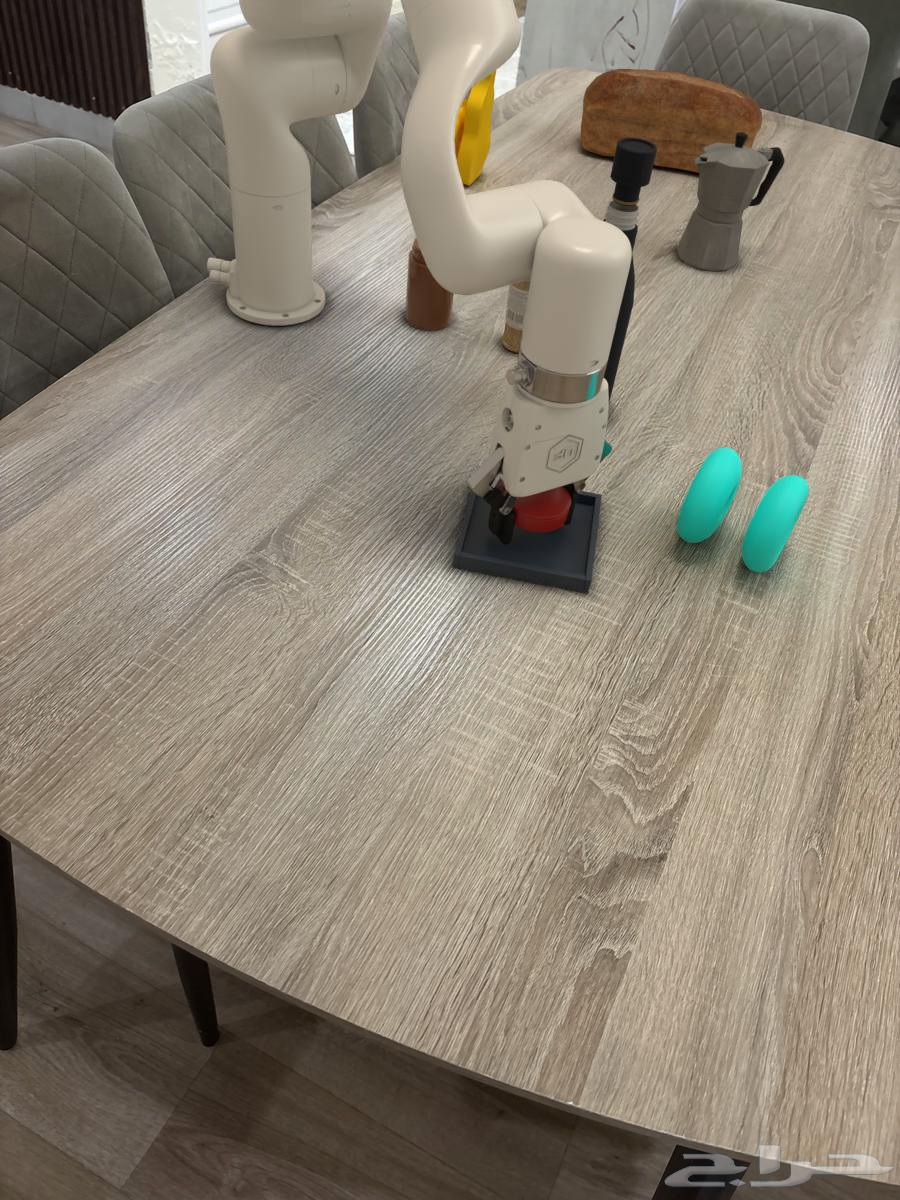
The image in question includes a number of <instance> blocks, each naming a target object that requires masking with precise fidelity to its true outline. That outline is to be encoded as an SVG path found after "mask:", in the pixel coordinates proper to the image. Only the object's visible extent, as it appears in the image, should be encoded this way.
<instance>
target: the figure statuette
mask: <svg viewBox="0 0 900 1200" xmlns="http://www.w3.org/2000/svg"><path fill="white" fill-rule="evenodd" d="M496 75H497V70H496V71H494V72H493V73H491V74H490V75H489V76H487V77H486V78H484V79H483V80H481V81H480V82H479V83H477V84H476V85H474V86H473V87H472V88H471V89H470V91H469V95H468V99H467V97H465V98H464V100H463V102H462V105H461V107H460V110H459V113H458V117H457V121H456V126H455V138H454V139H455V154H456V159H457V165H458V169H459V173H460V176H461V180H462V183H463V185H466V186H471V185H472V184H473V183H474V182H475V181H476V180H477V179H478V178H479V176H480V175H481V174H482V172H483V169H484V165H485V162H486V160H487V158H488V156H489V152H490V149H491V133H492V132H491V131H492V112H493V108H494V103H495V83H496V82H495V81H496Z"/></svg>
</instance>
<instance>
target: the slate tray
mask: <svg viewBox="0 0 900 1200" xmlns="http://www.w3.org/2000/svg"><path fill="white" fill-rule="evenodd" d="M495 478H496V477H495ZM495 478H494V479H493V480H492V482H491V483H490V484H489V485H490V486H491V485H492V483H493V482H494V480H495ZM501 494H503V495H504V494H505V488H504V489H503V491H502V493H501ZM602 497H603V495H602V494H601V493H595V492H590V491H585V490H582V491H581V492H578V493H577V499H576V503H575V507H574V512H573V516H572V520H571V523H570V524H568V525H562V526H561V527H560V528H558V529H556V530H554V531H550V532H532V531H528V530H525V529H522V528H520V527H518V526H516V525H514V529H513V534H512V540H511V542H510V544H507V545H504V544H503V543H502V542H501V541H500V540H499V538H498V537H497V536H496V535H494V534H493V533H492V532H491V531H490V529H489V526H488V521H489V515H490V509H491V505H489V504H488V503H487V502H486V501H485V500H484V499H482V498H481V497H479V496H478V495H477V494H475V493H474V492H473V491H472V490H471V491H470V495H469V498H468V502H467V505H466V510H465V514H464V517H463V520H462V524H461V528H460V531H459V534H458V538H457V542H456V545H455V549H454V553H453V558H452V560H453V561H452V568H455V569H461V570H466V571H472V572H477V573H481V574H487V575H492V576H495V577H496V576H497V577H502V578H508V579H511V580H518V581H522V582H528V583H533V584H539V585H543V586H548V587H554V588H558V589H563V590H568V591H575V592H580V593H585V594H588V593H589V592H590V587H591V584H592V581H593V580H592V579H593V571H594V565H595V564H594V562H595V555H596V548H597V547H596V546H597V539H598V538H597V537H598V531H599V530H598V529H599V521H600V513H601V505H602Z"/></svg>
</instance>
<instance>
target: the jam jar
mask: <svg viewBox="0 0 900 1200" xmlns="http://www.w3.org/2000/svg"><path fill="white" fill-rule="evenodd" d="M407 260H408V261H407V276H406V296H405V313H404V315H405V316H404V319H405V321H406V322H407V323H408V324H409V325H410V326H411V327H414V328H416V329H419V330H424V331H439V330H443V329H445V328H446V327H448V326H449V325H450V324H451V322H452V315H453V303H454V295H455V294H454V293H451V292H449V291H448V290H446V289H444V288H443V287H442V286H441V285H440V284H439V283H438V282H437V281H436V280H435V278H434V277H433V275H432V274H431V272H430V270H429V269H428V267H427V265H426V262H425V260H424V257H423V255H422V252H421V250H420V247H419V244H418V241H417V238H416V237H415V238H414V240H413V244H412V247H411V249H410V251H409V252H408V258H407Z"/></svg>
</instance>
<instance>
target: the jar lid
mask: <svg viewBox="0 0 900 1200" xmlns="http://www.w3.org/2000/svg"><path fill="white" fill-rule="evenodd" d="M507 492H508V491H507V490H506V489H505V494H504V496H506V494H507ZM570 505H571V497H570V494H569V493H568V491H567V490H566V489H565V488H564V487H563V486H561V487H557V488H554V489H551V490H547V491H544V492H540V493H537V494H533V495H530V496H525V497H519V498H518V500H517V502H516V503H515V505H514V507H513V509H512V510H513V511H514V512H515V513H516V518H515V523H514V525H516V526H518V527H520V528H522V529H525V530H528V531H532V532H550V531H554V530H556V529H558V528H560V527H561V526H562V525H563V524H565V522H566V519H567V516H568V512H569V509H570Z"/></svg>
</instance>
